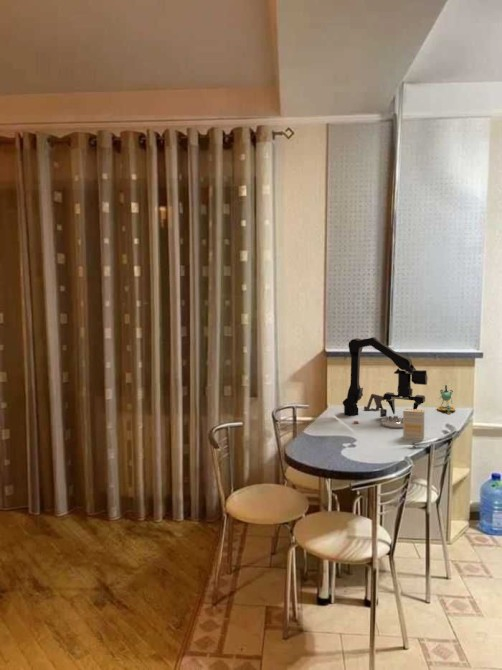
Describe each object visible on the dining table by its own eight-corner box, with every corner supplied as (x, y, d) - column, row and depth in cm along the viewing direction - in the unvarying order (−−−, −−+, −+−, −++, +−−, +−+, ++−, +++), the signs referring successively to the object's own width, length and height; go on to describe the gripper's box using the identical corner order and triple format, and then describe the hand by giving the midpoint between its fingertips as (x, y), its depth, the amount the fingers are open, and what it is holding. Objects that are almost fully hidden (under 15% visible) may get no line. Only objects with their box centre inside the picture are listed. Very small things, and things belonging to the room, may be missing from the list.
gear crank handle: (412, 427, 230) (412, 418, 230) (387, 429, 229) (387, 419, 228) (393, 417, 251) (393, 408, 250) (370, 418, 249) (370, 409, 249)
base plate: (359, 434, 224) (359, 430, 224) (350, 421, 248) (350, 417, 248) (428, 434, 223) (428, 430, 223) (413, 421, 247) (413, 417, 247)
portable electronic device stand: (363, 410, 272) (363, 394, 271) (375, 408, 275) (375, 393, 275) (375, 413, 264) (375, 397, 263) (386, 411, 268) (386, 396, 267)
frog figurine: (433, 413, 263) (434, 385, 263) (437, 410, 279) (438, 383, 279) (453, 415, 258) (454, 386, 259) (456, 411, 274) (457, 384, 275)
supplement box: (424, 440, 215) (425, 409, 214) (423, 443, 211) (423, 412, 210) (404, 437, 219) (404, 408, 217) (402, 440, 214) (403, 410, 213)
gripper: (427, 382, 246) (426, 413, 247) (389, 379, 255) (388, 409, 256) (423, 385, 236) (422, 418, 238) (383, 382, 245) (382, 414, 247)
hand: (403, 415), depth 245 cm, fingers open, 9 cm apart
